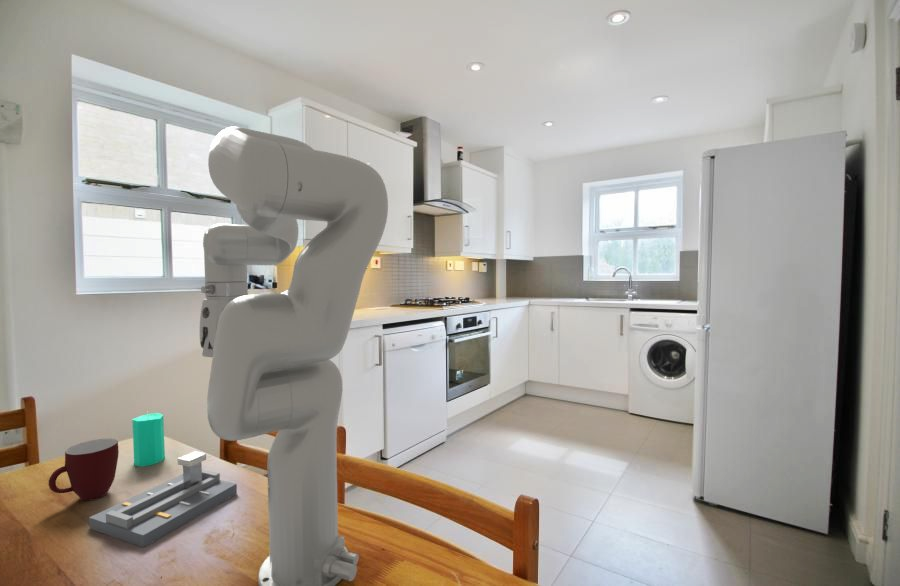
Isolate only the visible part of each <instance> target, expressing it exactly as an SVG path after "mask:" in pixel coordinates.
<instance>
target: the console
mask: <svg viewBox="0 0 900 586" xmlns="http://www.w3.org/2000/svg"><path fill="white" fill-rule="evenodd" d="M220 475H221V474H220V473H219V472H216V471H210V470H207V469H203V468H202V482H200V483H198V484H196V485H194V486H192V487H190V488H184V483H183V473H181V475H178V476H176V477H174V478H172V479H170V480H167V481H165V482H163V483H161V484H159V485H157V486H154V487H152V488H149V489H147V490H146V491H143V492H141V493H138V494H136V495H135V496H132V497H131V498H128V499H126V500H124V501H122V502H120V503H117V504H115V505H113V506H111V507H109V508H107V509H105V510H102V511H100V512H98V513H96V514H93V515H92V516H89V517H88V523H89V525H88V526H89V527H88V528H89V530H92V531H95V532H98V533H101V534H104V535H107V536H109V537H112V538H114V539H118V540H120V541H124V542H127V543H129V544H132V545H134V546H135V545H136V546H139V547H141V548H145V547H147V546H148V545H150V544H152V543H154V542H156V541H157V540H158V539H161V538H162V537H164V536H166V535H168V534H170V533H171V532H173V531H174V530H176V529H179V528H180V527H181V526H183V525H185V524H187V523H189V522H190V521H192V520H193V519H196V518H197V517H199V516H200V515H203V514H204V513H206V512H207V511H209V510H212V508H214V507H216V506H218V505H221V504H222V503H223V502H225V501H226V500H228V499H230V498H232V497H233V496H235V495H236V494H238V492H237V491H238V490H237V489H238V487H237V483H235V482H230V481H227V480H222V479H221V476H220Z"/></svg>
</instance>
